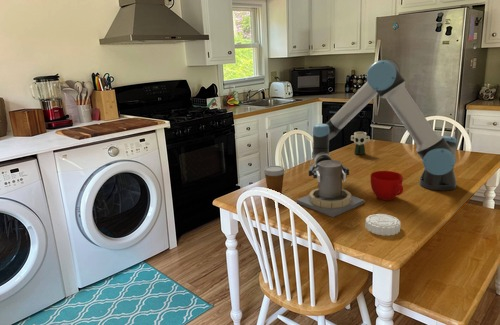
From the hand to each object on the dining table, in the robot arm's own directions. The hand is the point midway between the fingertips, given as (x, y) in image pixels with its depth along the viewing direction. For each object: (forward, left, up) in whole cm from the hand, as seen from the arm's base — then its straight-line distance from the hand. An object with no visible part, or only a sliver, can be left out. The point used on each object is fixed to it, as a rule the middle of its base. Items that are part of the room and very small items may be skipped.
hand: (331, 178), depth 154 cm
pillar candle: (+3, -3, -9) cm, 10 cm away
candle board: (+3, -3, -12) cm, 13 cm away
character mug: (+41, -74, -13) cm, 86 cm away
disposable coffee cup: (+28, +6, -13) cm, 32 cm away
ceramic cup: (-11, -24, -13) cm, 29 cm away
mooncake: (-25, +1, -13) cm, 28 cm away
